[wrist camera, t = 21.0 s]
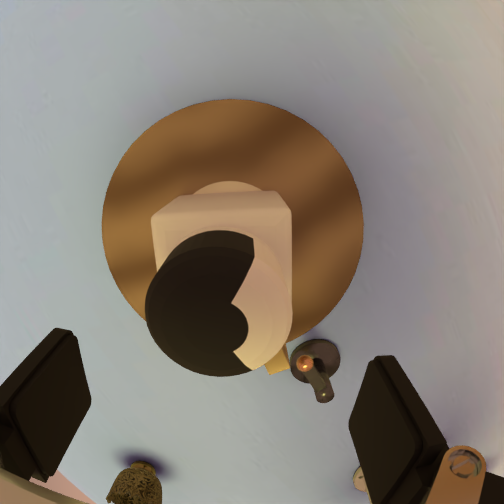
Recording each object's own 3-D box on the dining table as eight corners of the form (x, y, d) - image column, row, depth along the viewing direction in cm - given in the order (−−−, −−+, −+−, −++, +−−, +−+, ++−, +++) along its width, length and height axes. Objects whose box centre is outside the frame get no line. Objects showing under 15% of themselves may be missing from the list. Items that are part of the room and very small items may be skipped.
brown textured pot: (111, 450, 36) (95, 492, 28) (157, 451, 36) (145, 498, 28) (133, 478, 38) (122, 517, 31) (176, 479, 38) (169, 522, 30)
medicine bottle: (186, 288, 25) (146, 394, 13) (176, 195, 22) (111, 242, 11) (279, 284, 25) (305, 391, 13) (278, 189, 22) (311, 232, 11)
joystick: (345, 364, 31) (360, 400, 26) (302, 385, 32) (311, 423, 27) (317, 313, 29) (331, 348, 24) (269, 338, 30) (274, 376, 25)
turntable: (76, 170, 24) (36, 178, 18) (303, 68, 22) (321, 45, 16) (177, 365, 29) (165, 408, 24) (379, 293, 27) (407, 326, 22)
